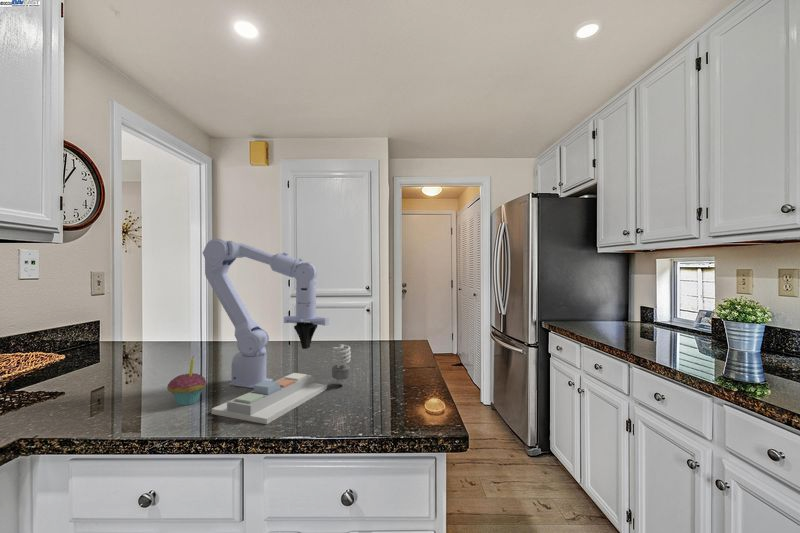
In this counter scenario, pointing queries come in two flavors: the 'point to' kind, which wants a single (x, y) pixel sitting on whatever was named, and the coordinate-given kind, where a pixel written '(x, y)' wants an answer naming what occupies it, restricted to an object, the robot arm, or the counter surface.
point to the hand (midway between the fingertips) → (305, 348)
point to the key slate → (266, 387)
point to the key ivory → (296, 376)
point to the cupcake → (187, 387)
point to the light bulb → (341, 364)
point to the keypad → (272, 402)
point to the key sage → (249, 398)
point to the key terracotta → (285, 382)
